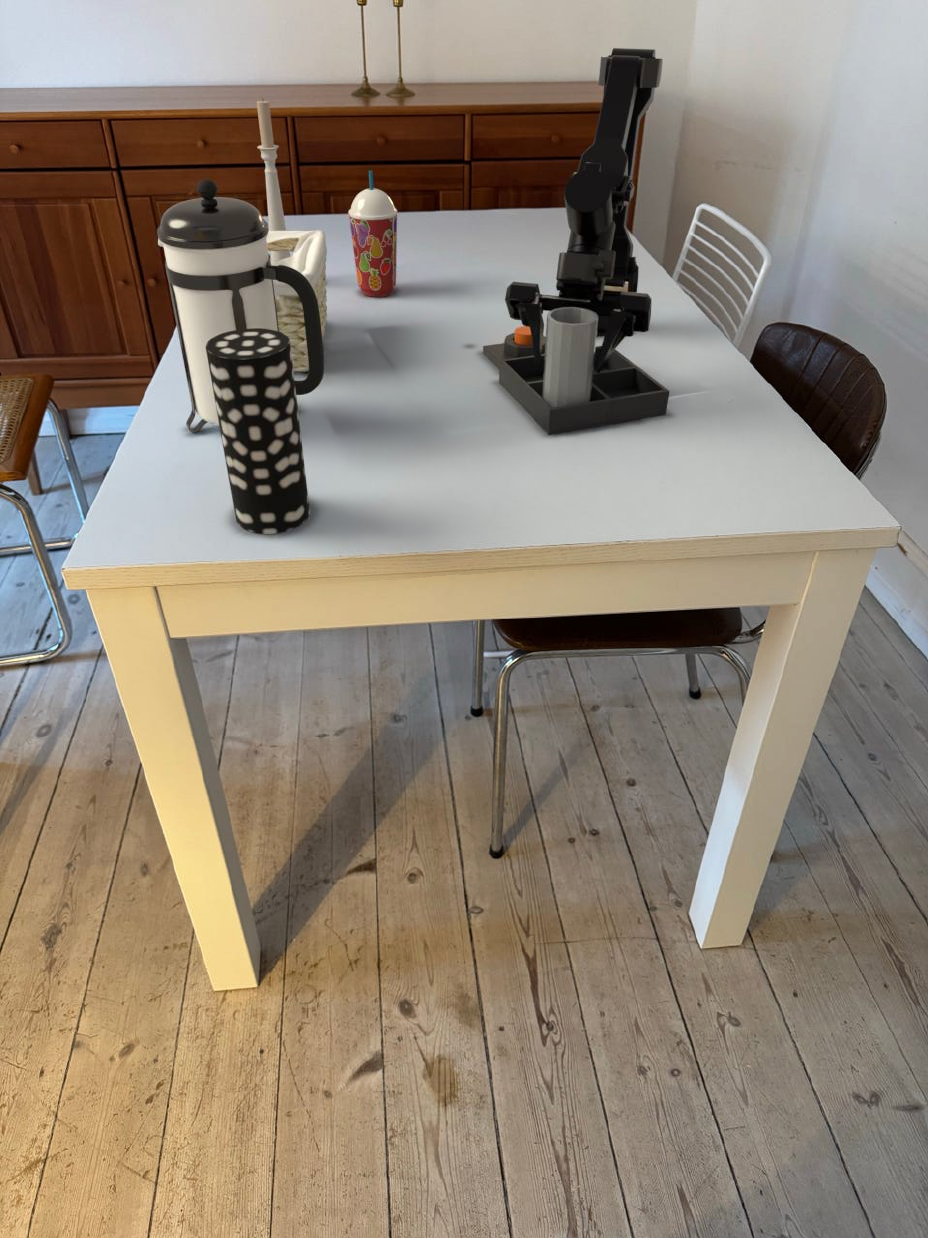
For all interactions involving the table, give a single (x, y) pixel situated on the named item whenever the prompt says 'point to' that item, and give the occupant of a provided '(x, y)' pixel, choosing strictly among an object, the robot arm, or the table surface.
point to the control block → (509, 350)
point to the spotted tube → (260, 428)
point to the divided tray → (613, 394)
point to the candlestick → (271, 176)
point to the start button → (523, 335)
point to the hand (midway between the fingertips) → (566, 368)
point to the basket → (288, 304)
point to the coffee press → (226, 286)
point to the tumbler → (569, 356)
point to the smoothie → (374, 240)
